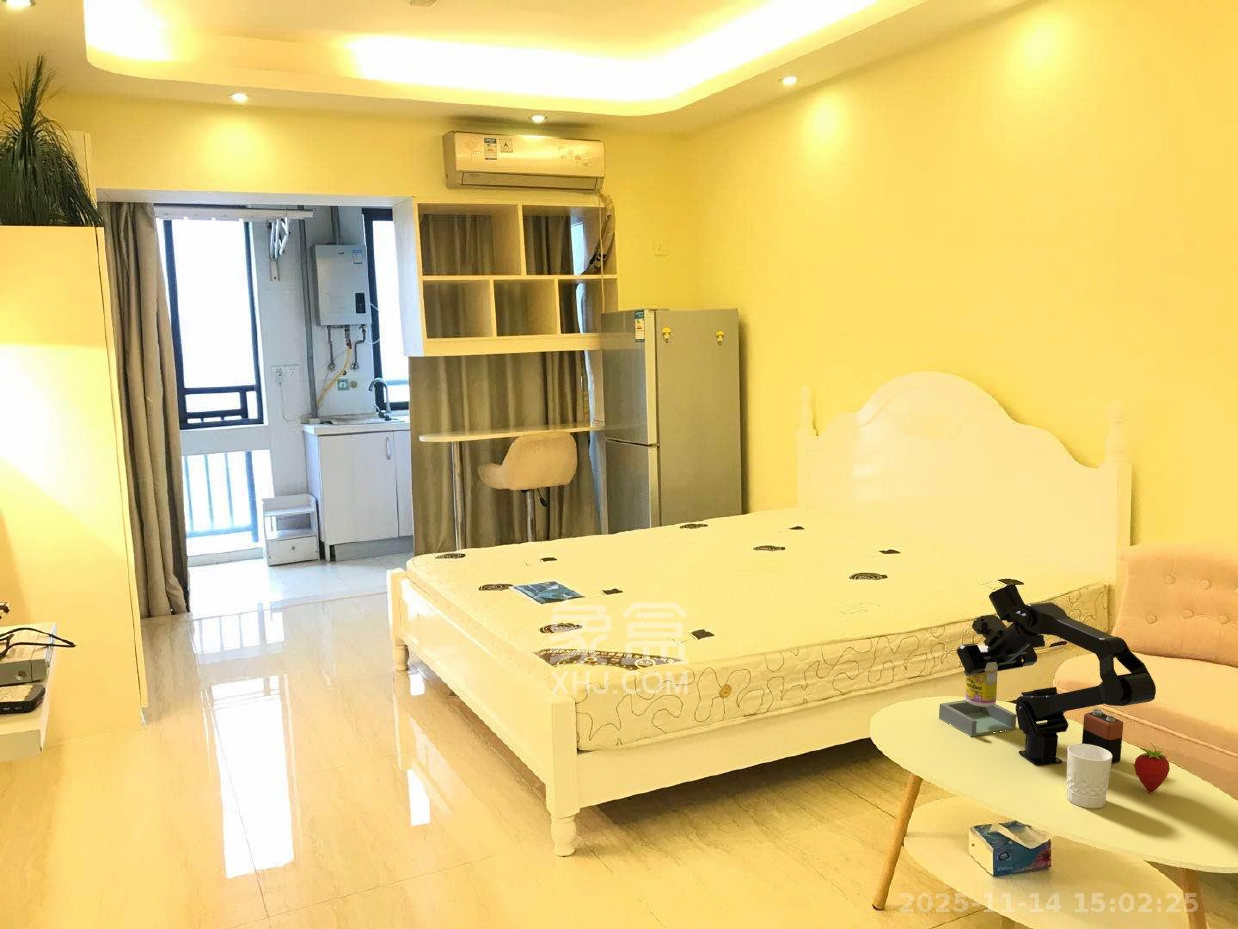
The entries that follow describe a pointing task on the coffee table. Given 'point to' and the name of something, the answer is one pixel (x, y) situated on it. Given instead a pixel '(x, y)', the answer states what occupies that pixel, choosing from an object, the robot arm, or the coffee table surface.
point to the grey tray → (977, 717)
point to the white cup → (1088, 775)
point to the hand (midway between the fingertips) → (977, 672)
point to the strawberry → (1151, 769)
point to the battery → (1103, 732)
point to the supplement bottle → (982, 685)
